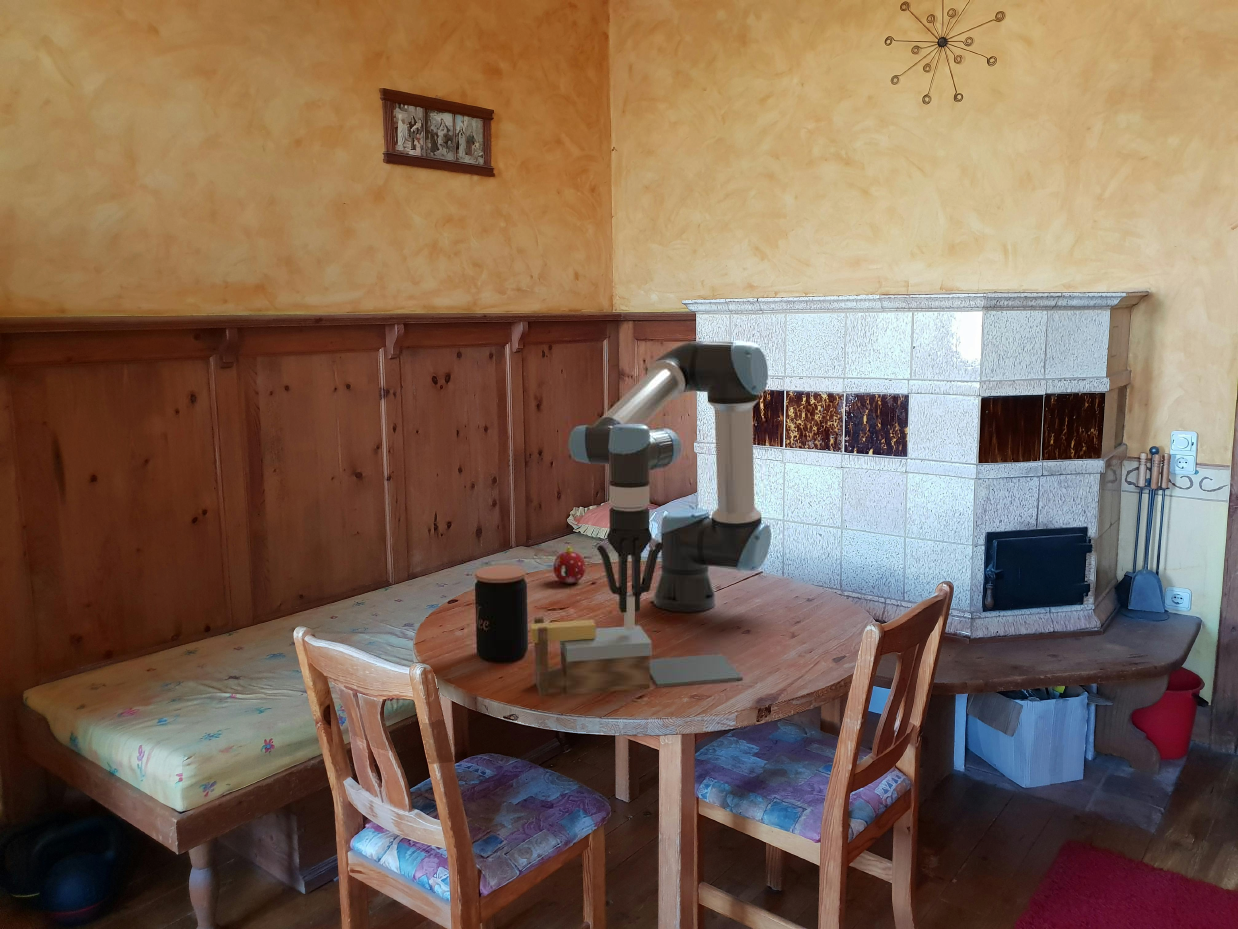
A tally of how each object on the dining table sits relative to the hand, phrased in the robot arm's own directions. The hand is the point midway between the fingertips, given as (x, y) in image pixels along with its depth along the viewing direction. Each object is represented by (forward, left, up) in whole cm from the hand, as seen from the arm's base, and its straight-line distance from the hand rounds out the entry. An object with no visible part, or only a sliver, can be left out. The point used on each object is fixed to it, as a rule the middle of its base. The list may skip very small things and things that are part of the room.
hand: (629, 627), depth 178 cm
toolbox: (+7, 0, -11) cm, 13 cm away
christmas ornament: (+1, -71, -11) cm, 72 cm away
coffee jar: (+23, -20, -11) cm, 32 cm away
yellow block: (+13, 0, -1) cm, 13 cm away
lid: (+5, 0, -4) cm, 6 cm away
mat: (-13, -3, -11) cm, 17 cm away
